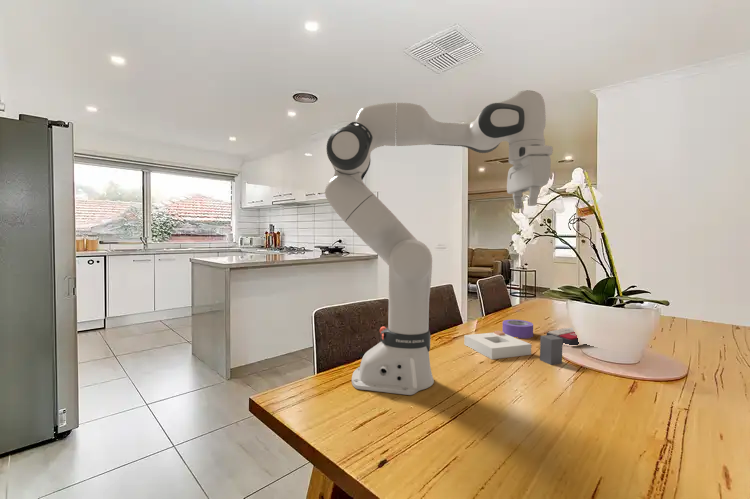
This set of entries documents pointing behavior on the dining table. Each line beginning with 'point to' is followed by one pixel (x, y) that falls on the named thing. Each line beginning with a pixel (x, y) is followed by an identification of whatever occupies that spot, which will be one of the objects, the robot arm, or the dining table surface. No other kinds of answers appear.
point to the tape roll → (518, 328)
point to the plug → (551, 349)
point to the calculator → (565, 335)
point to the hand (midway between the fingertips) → (524, 207)
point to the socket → (497, 345)
